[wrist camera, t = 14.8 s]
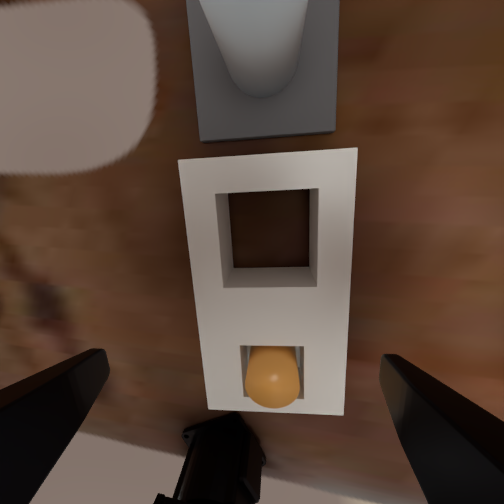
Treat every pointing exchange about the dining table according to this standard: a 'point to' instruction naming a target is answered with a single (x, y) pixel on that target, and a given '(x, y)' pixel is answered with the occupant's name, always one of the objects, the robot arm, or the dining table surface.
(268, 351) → the plunger
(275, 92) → the cylinder
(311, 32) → the mat
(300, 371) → the white slotted block
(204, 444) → the robot arm
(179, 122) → the dining table surface
